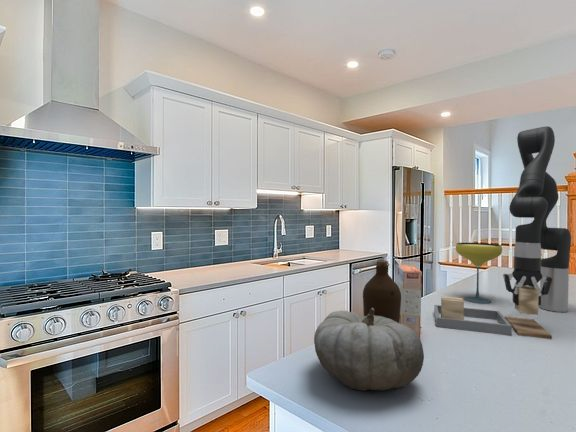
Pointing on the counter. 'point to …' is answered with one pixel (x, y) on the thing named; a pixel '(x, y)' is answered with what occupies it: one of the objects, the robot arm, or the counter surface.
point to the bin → (474, 325)
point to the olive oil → (382, 294)
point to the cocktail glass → (478, 260)
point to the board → (528, 327)
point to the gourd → (368, 350)
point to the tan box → (527, 300)
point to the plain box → (452, 308)
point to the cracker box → (410, 296)
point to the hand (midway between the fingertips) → (526, 305)
